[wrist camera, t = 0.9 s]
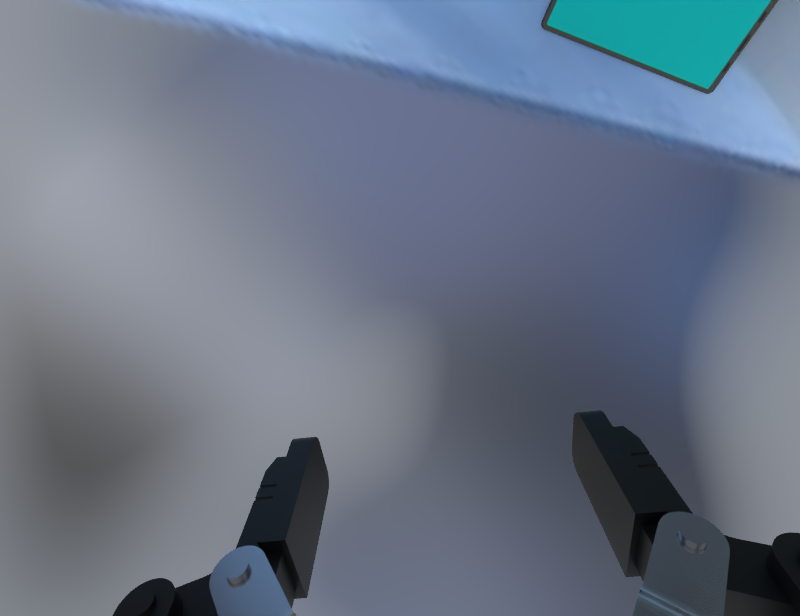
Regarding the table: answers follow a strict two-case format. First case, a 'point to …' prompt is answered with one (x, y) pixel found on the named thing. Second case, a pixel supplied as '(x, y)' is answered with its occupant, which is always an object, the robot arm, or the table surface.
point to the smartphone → (664, 33)
